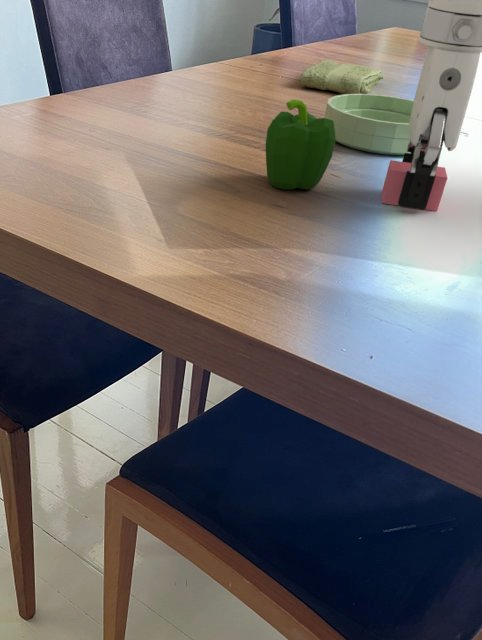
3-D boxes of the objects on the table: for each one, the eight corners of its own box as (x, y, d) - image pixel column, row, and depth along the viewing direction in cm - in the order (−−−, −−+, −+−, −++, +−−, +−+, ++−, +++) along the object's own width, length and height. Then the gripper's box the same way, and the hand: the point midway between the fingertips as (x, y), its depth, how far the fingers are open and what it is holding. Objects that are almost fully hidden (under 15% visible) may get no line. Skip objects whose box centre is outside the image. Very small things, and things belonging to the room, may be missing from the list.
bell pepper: (311, 174, 95) (327, 91, 89) (333, 196, 89) (353, 109, 83) (249, 173, 94) (262, 89, 88) (267, 196, 88) (283, 107, 81)
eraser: (434, 200, 90) (445, 167, 88) (437, 211, 87) (447, 177, 85) (381, 192, 91) (390, 160, 89) (381, 203, 88) (390, 169, 86)
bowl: (433, 132, 116) (441, 102, 113) (440, 164, 103) (451, 130, 100) (324, 118, 119) (330, 88, 116) (318, 147, 105) (324, 114, 103)
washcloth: (384, 83, 144) (388, 64, 142) (362, 99, 131) (367, 80, 129) (319, 72, 148) (323, 54, 146) (293, 87, 135) (296, 68, 133)
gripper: (506, 48, 71) (447, 227, 82) (485, 23, 84) (436, 180, 95) (426, 39, 72) (379, 217, 83) (418, 15, 85) (378, 171, 96)
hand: (410, 196), depth 89 cm, fingers open, 6 cm apart
